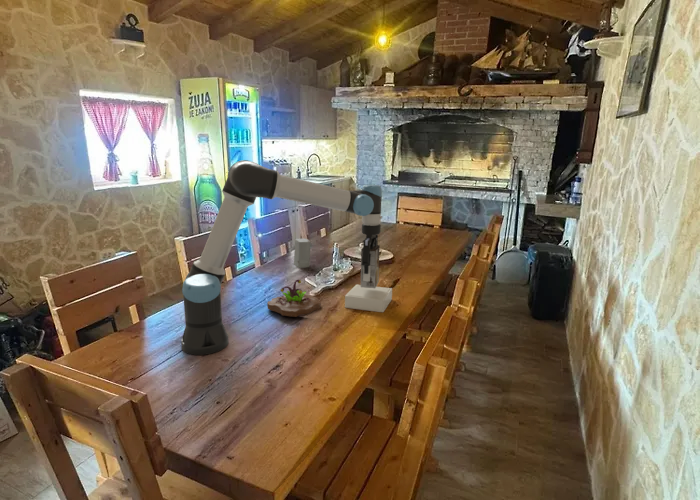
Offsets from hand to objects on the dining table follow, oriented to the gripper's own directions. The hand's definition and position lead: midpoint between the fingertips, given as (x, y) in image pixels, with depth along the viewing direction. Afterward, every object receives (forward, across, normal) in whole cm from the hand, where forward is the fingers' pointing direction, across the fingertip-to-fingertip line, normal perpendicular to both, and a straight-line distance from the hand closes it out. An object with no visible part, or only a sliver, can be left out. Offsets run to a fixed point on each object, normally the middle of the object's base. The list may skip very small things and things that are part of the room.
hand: (369, 277), depth 174 cm
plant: (+12, -13, +28) cm, 33 cm away
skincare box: (+11, +40, +48) cm, 63 cm away
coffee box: (+3, 0, 0) cm, 3 cm away
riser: (+11, 0, 0) cm, 11 cm away
